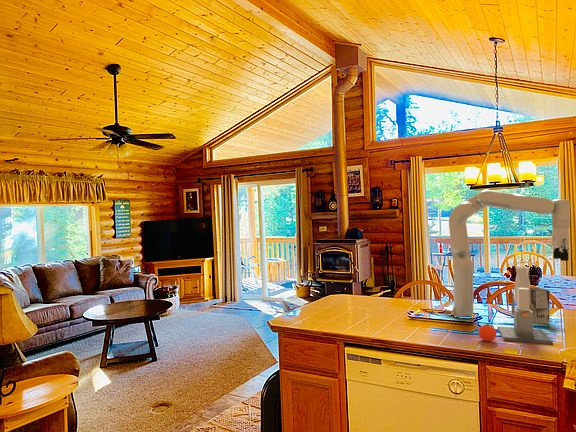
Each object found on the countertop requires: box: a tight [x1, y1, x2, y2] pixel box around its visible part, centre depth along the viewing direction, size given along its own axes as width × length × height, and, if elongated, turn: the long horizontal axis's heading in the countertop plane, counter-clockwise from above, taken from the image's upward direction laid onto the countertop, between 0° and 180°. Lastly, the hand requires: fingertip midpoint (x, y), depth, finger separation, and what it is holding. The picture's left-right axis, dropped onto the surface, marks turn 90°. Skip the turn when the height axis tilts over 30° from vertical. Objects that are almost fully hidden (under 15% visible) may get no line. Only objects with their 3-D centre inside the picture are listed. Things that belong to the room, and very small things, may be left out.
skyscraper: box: [510, 261, 532, 315], centre depth 227 cm, size 8×8×28 cm
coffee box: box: [529, 287, 550, 324], centre depth 212 cm, size 9×6×16 cm
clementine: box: [478, 323, 498, 343], centre depth 181 cm, size 8×7×7 cm
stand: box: [497, 307, 554, 345], centre depth 186 cm, size 18×18×12 cm
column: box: [516, 288, 530, 312], centre depth 186 cm, size 4×4×19 cm
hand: (560, 259), depth 208 cm, fingers open, 9 cm apart
